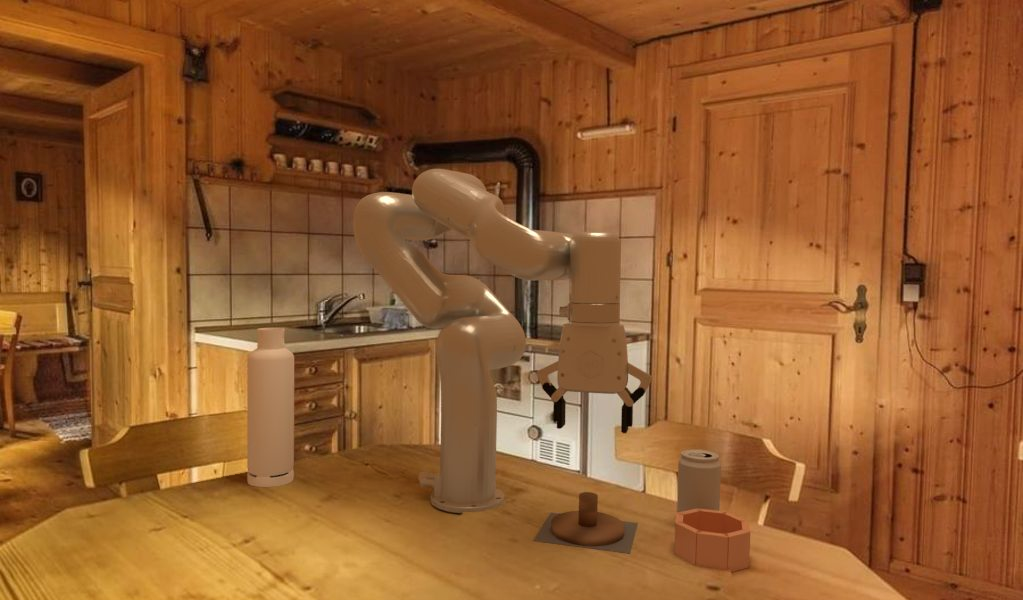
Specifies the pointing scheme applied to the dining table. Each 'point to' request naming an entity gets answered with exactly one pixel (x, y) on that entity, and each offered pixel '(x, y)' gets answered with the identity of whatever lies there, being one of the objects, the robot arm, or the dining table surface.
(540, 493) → the dining table surface
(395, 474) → the dining table surface
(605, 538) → the lid
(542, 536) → the mat
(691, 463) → the beverage can
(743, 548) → the bowl
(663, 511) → the dining table surface
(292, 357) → the bottle
